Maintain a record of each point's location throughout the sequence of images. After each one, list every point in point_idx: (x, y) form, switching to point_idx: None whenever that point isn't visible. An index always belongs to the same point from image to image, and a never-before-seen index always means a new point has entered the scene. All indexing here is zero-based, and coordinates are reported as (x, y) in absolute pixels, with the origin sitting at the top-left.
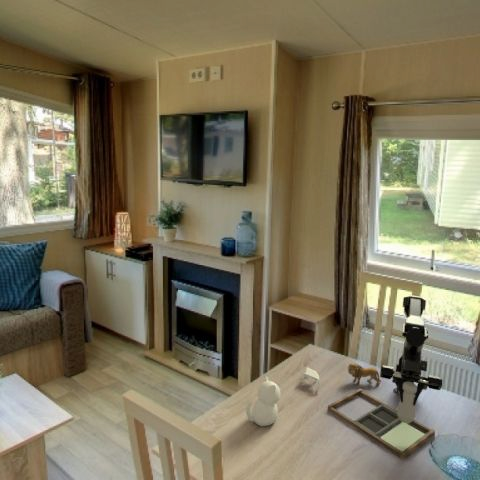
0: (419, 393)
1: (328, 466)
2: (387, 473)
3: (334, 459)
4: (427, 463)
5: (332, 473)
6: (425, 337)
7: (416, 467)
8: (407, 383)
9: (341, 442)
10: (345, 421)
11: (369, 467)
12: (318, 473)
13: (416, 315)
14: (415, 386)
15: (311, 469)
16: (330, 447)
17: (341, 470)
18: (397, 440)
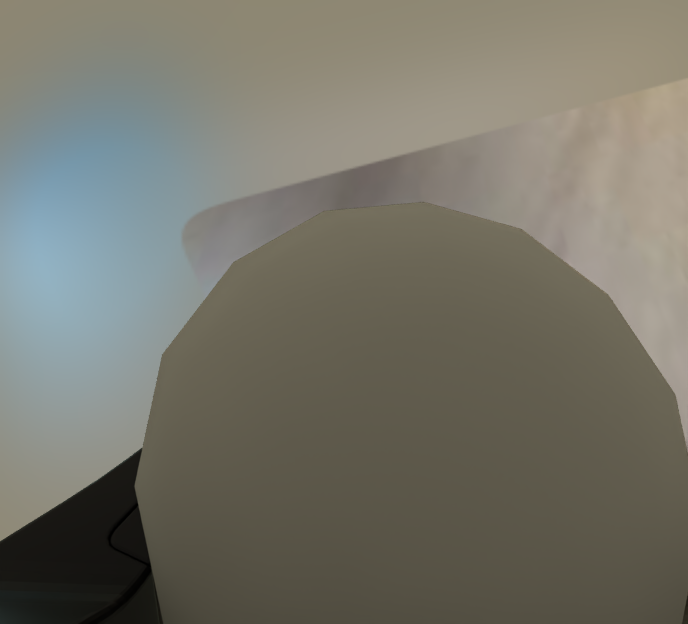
0: (120, 468)
1: (621, 137)
2: (403, 164)
3: (614, 176)
4: (215, 276)
5: (596, 111)
6: None
7: (275, 233)
8: (582, 405)
9: (626, 285)
10: None
11: (476, 174)
12: (638, 99)
13: None
14: (214, 345)
15: (667, 109)
16: (655, 237)
17: (571, 132)
18: None
